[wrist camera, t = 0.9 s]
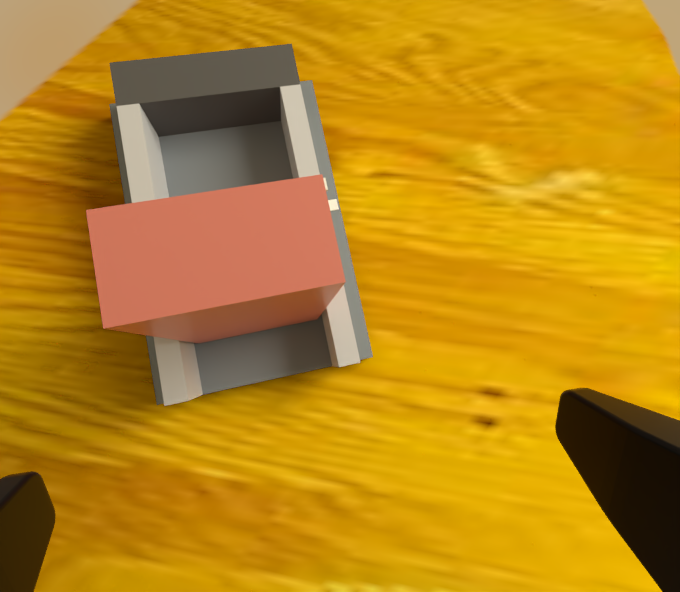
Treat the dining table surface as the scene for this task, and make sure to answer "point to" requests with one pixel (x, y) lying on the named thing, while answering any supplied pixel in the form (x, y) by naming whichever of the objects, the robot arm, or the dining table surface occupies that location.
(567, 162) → the dining table surface
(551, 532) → the dining table surface
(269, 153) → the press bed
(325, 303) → the plug
